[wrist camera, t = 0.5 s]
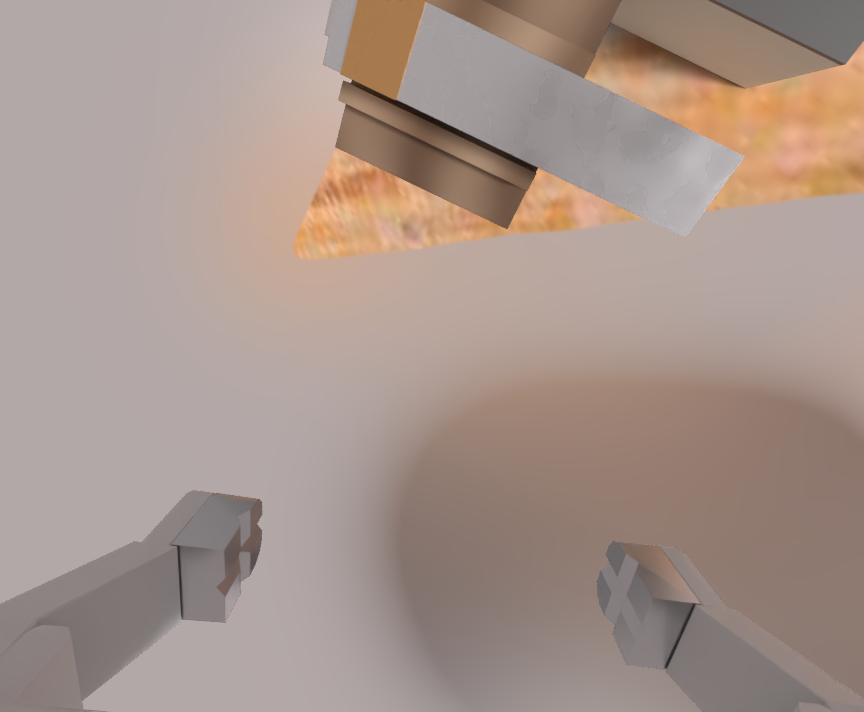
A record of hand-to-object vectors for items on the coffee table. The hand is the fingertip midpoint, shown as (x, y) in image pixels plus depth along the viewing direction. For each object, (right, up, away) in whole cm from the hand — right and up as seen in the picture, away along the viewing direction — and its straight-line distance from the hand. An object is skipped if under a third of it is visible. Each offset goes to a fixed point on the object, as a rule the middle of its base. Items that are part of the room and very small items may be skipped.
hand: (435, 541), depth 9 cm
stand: (+7, +31, +36) cm, 48 cm away
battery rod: (+5, +18, +13) cm, 23 cm away
